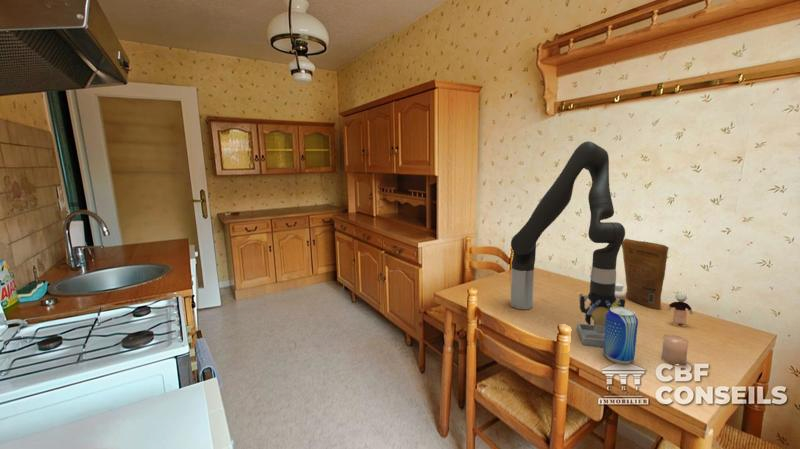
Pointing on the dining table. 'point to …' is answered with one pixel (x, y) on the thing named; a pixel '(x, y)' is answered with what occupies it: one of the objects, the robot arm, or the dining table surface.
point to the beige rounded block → (674, 349)
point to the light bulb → (599, 319)
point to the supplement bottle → (618, 293)
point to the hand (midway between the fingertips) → (599, 324)
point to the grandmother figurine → (680, 310)
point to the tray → (590, 335)
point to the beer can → (620, 335)
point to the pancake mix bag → (644, 271)
